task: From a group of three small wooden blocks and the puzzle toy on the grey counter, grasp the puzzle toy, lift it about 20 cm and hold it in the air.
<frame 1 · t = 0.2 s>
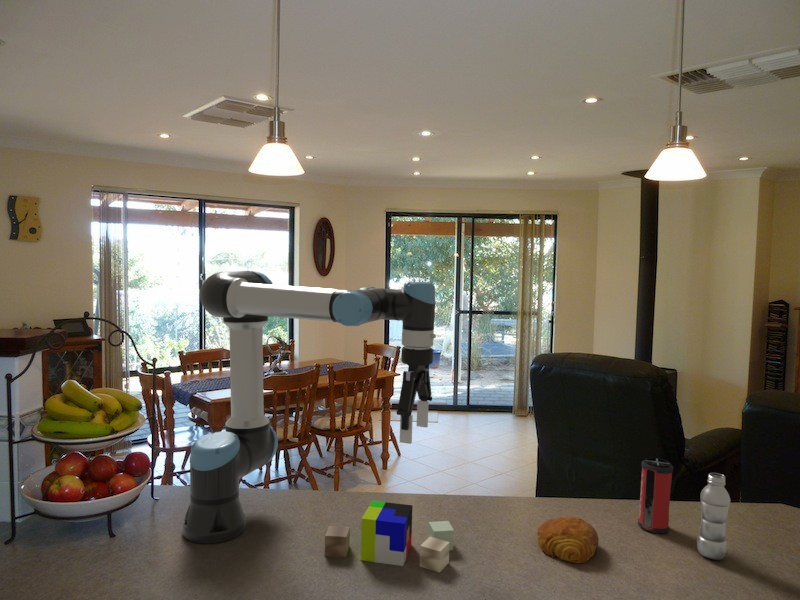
hand: (414, 434, 140), 27 cm above the countertop, fingers open, 13 cm apart
maple block: (434, 564, 133), on the countertop
croissant: (566, 549, 143), on the countertop
walnut block: (337, 551, 138), on the countertop
sage painted block: (440, 545, 142), on the countertop
speaker: (653, 528, 155), on the countertop
plastic bottle: (710, 557, 141), on the countertop
puzzle toy: (386, 553, 138), on the countertop
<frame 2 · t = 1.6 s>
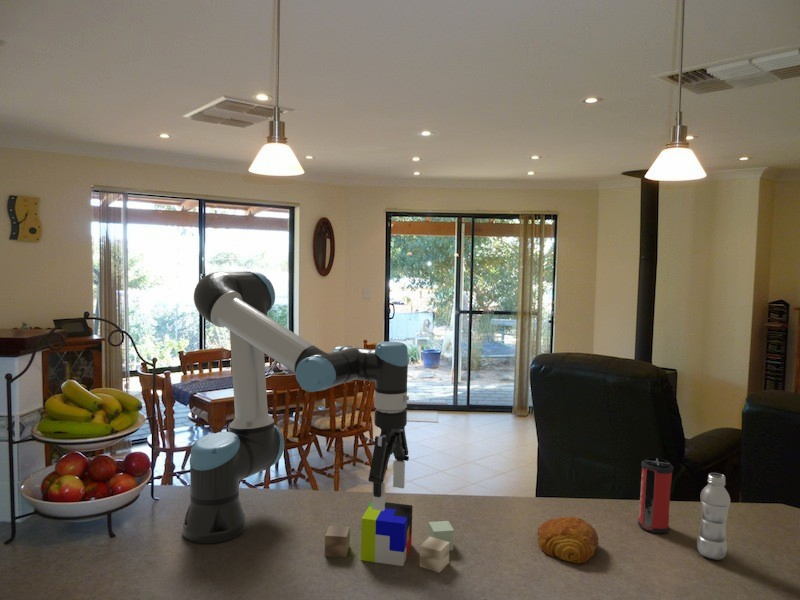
hand: (389, 497, 137), 13 cm above the countertop, fingers open, 13 cm apart
nothing on the countertop moved.
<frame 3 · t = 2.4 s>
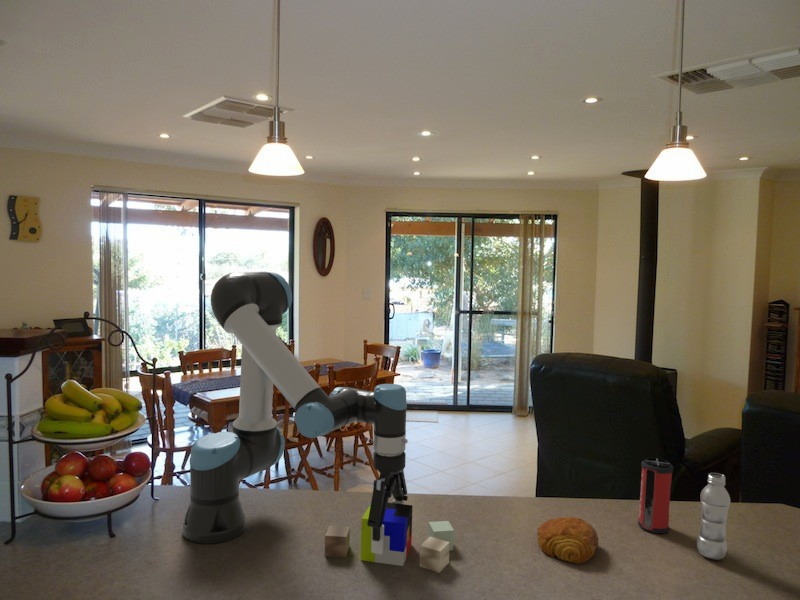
hand: (388, 539, 138), 3 cm above the countertop, fingers open, 13 cm apart
nothing on the countertop moved.
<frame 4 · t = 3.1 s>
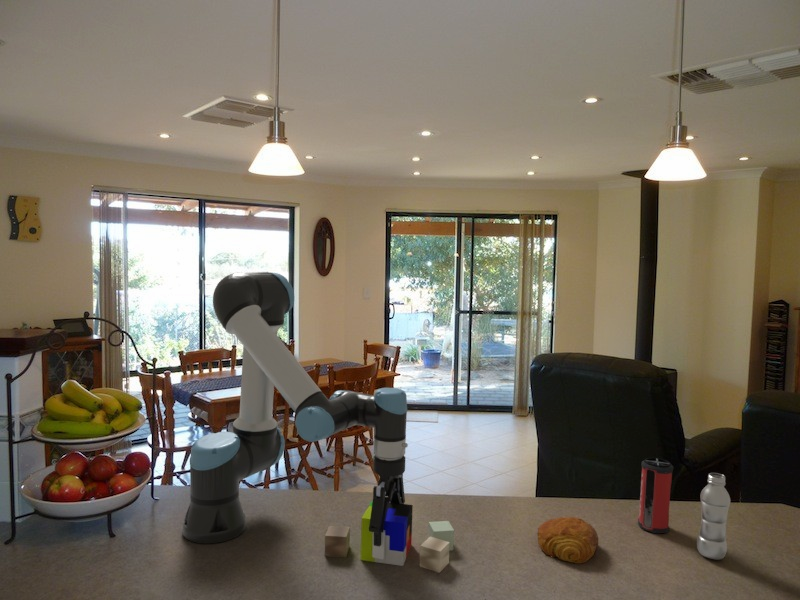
hand: (387, 546, 138), 1 cm above the countertop, fingers closed on puzzle toy, 10 cm apart
puzzle toy: (386, 553, 138), on the countertop, touching gripper
everything else where it was.
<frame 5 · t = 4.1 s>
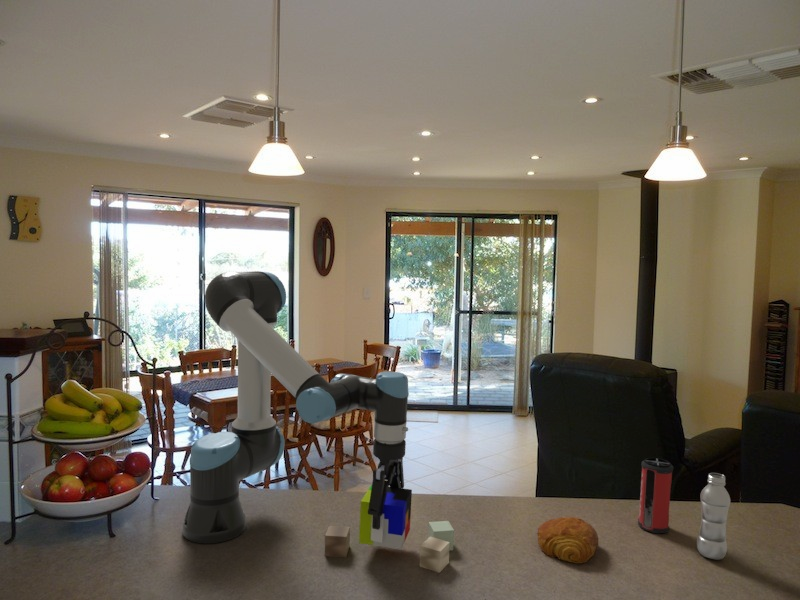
hand: (385, 530, 138), 5 cm above the countertop, fingers closed on puzzle toy, 10 cm apart
puzzle toy: (385, 536, 138), point 4 cm above the countertop, touching gripper
everything else where it was.
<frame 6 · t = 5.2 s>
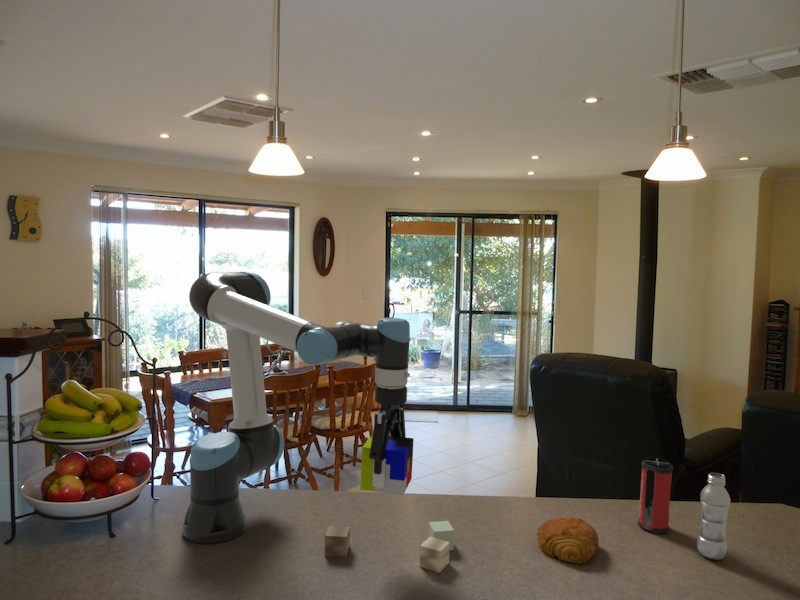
hand: (387, 477, 137), 18 cm above the countertop, fingers closed on puzzle toy, 10 cm apart
puzzle toy: (386, 484, 137), point 16 cm above the countertop, touching gripper
everything else where it was.
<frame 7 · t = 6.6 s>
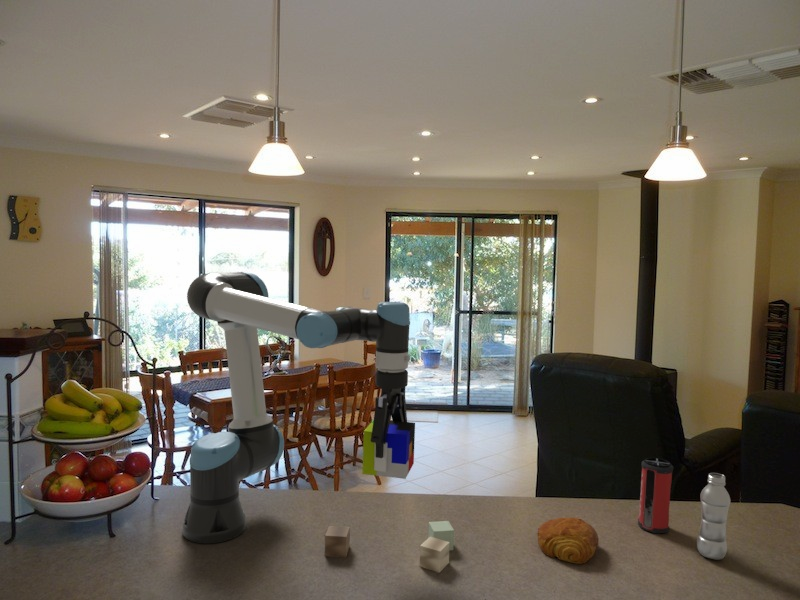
hand: (389, 462, 137), 22 cm above the countertop, fingers closed on puzzle toy, 10 cm apart
puzzle toy: (388, 469, 137), point 20 cm above the countertop, touching gripper
everything else where it was.
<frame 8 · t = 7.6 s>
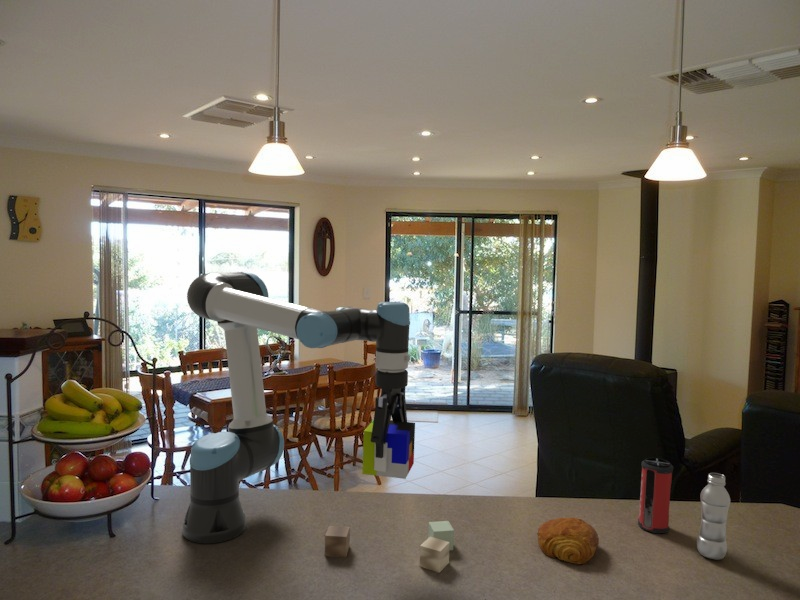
hand: (389, 462, 137), 22 cm above the countertop, fingers closed on puzzle toy, 10 cm apart
puzzle toy: (388, 469, 137), point 20 cm above the countertop, touching gripper
everything else where it was.
at the end: the gripper is holding puzzle toy; puzzle toy point 20.1 cm above the countertop; walnut block moved 0.1 cm from its start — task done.
